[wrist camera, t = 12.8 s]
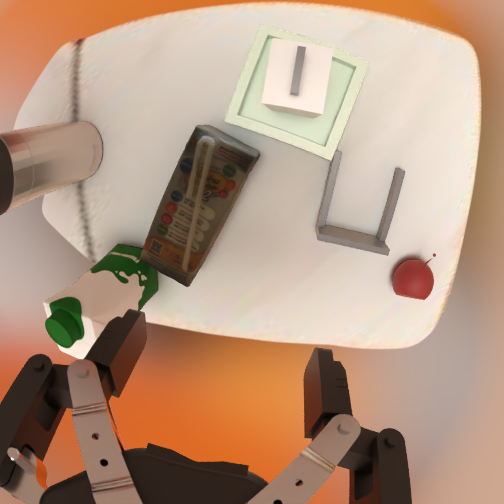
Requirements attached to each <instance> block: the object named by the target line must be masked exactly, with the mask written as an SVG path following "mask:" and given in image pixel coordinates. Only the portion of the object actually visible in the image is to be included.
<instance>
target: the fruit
mask: <svg viewBox="0 0 504 504" xmlns="http://www.w3.org/2000/svg"><path fill="white" fill-rule="evenodd" d="M433 256H434V257H435V256H436V254H433ZM430 260H431V259H430ZM430 260H429V261H430ZM429 261H427V262H426V263H424V262H422V261H420V260H416V259H412V260H407V261H405V262H403V263H402V264H400V265H399V266H398V268H397V269H396V271H395V273H394V276H393V289H394V291H395V293H396V294H397V295H400V296H405V297H409V298H415V299H421V300H425V299H426V298H427V297H428V296H429V295H430V293H431V291H432V289H433V284H434V277H433V273H432V271H431V269H430V268H429V266H428V265H427V263H428V262H429Z"/></svg>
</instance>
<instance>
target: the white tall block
mask: <svg viewBox="0 0 504 504" xmlns="http://www.w3.org/2000/svg"><path fill="white" fill-rule="evenodd" d="M332 55H333V49H332V48H328V47H324V46H319V45H314V44H309V43H303V42H297V41H291V40H285V39H278V38H272V44H271V50H270V56H269V61H268V67H267V73H266V79H265V85H264V91H263V97H262V104H263V105H265V106H266V107H267V108H269V109H270V110H271V111H277V112H283V113H289V114H294V115H299V116H304V117H309V118H316V117H318V116H320V115H322V114H323V109H324V104H325V98H326V92H327V86H328V80H329V74H330V68H331V62H332Z"/></svg>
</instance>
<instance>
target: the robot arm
mask: <svg viewBox="0 0 504 504" xmlns="http://www.w3.org/2000/svg"><path fill="white" fill-rule="evenodd" d="M102 152H103V148H102V141H101V137H100V135H99V132H98V131H97V129H96V128H95V127H94V126H93V125H92V124H90V123H88V122H85V121H80V122H69V123H59V124H51V125H44V126H37V127H31V128H25V129H19V130H14V131H10V132H5V133H0V215H2V214H3V213H5V212H7V211H9V210H11V209H13V208H16V207H18V206H20V205H22V204H24V203H26V202H29V201H31V200H33V199H35V198H37V197H40V196H42V195H45V194H47V193H50V192H52V191H55V190H57V189H60V188H62V187H65V186H68V185H70V184H73V183H76V182H78V181H81V180H84V179H87V178H88V177H90V176H92V175H93V174H94V173H95V172H96V170H97V169H98V167H99V165H100V163H101V159H102ZM146 340H147V331H146V320H145V313H144V312H141V311H137V310H133V309H128V310H127V312H126V313H125V314H124V316H123V317H119V316H117V317H115V318H114V319H112V320H111V321H109V322H108V324H107V325H106V327H105V328H104V331H102V332H101V334H100V336H99V337H98V338H97V340H96V341H95V343H94V344H93V346H92V347H91V349H90V350H89V352H88V353H87V355H86V356H85V358H84V359H79V360H76V361H74V362H73V363H71V364H70V365H59V364H52V361H51V359H50V358H49V357H47V356H46V355H43V354H37V355H34V356H32V357H31V358H29V359H28V361H27V362H26V364H25V365H24V367H23V368H22V370H21V371H20V373H19V374H18V376H17V377H16V379H15V381H14V382H13V384H12V386H11V387H10V389H9V391H8V392H7V394H6V395H5V397H4V399H3V400H2V402H1V404H0V490H2V491H4V492H5V493H7V494H10V495H12V496H13V497H15V498H17V499H20V500H21V501H23V502H25V503H26V504H306V503H307V502H308V501H309V500H310V499H311V497H312V496H313V495H314V494H315V493H316V492H317V491H318V490H319V488H320V487H321V486H322V485H323V484H324V483H325V482H326V480H327V479H328V478H329V477H330V475H331V474H332V473H333V472H334V468H335V467H336V466H340V467H343V468H347V469H349V470H350V490H349V491H350V493H349V495H350V496H349V504H412V498H411V488H410V478H409V469H408V461H407V454H406V447H405V440H404V438H403V436H402V434H401V433H400V432H399V431H397V430H395V429H392V428H388V429H384V430H382V431H381V432H380V433H378V432H375V431H371V430H368V429H365V428H363V427H361V426H360V424H359V422H358V421H357V420H356V419H355V418H354V417H353V415H352V409H351V402H350V395H349V389H348V383H347V377H346V371H345V369H344V367H343V366H342V364H341V362H339V361H333V354H332V350H331V349H323V348H315V349H314V351H313V354H312V356H311V358H310V360H309V362H308V364H307V367H306V369H305V373H304V423H305V424H304V425H305V426H304V427H305V428H304V429H305V438H312V442H311V443H310V444H309V445H308V447H307V448H306V449H304V450H303V451H302V452H301V453H300V454H299V455H298V456H297V457H296V458H295V459H294V460H293V461H292V462H291V463H290V464H289V465H288V466H287V467H286V468H285V469H284V470H283V471H282V472H281V473H280V474H279V475H278V476H277V477H276V478H275V479H274V480H273V481H271V483H269V484H268V483H267V482H266V481H265V480H264V479H263V478H261V477H260V476H258V475H256V474H254V473H252V472H249V471H248V465H242V464H235V463H229V462H196V461H193V460H191V459H189V458H187V457H185V456H183V455H181V454H179V453H177V452H175V451H173V450H171V449H167V448H163V447H160V446H156V445H153V444H150V443H148V445H147V448H134V449H129V450H125V447H124V445H123V442H122V440H121V437H120V435H119V432H118V429H117V426H116V424H115V420H114V417H113V414H112V411H111V407H110V404H109V400H110V398H111V396H112V395H113V396H115V397H118V398H119V397H120V395H121V393H122V390H123V389H124V387H125V384H126V383H127V381H128V379H129V377H130V375H131V373H132V371H133V369H134V367H135V364H136V363H137V361H138V359H139V357H140V355H141V353H142V351H143V349H144V347H145V344H146ZM66 408H72V409H74V410H73V411H72V418H73V423H74V427H75V432H76V435H77V439H78V444H79V447H80V451H81V454H82V458H83V461H84V465H85V468H86V470H85V471H83V472H81V473H79V474H77V475H74V476H72V477H70V478H68V479H66V480H63V481H61V482H59V483H57V484H55V485H52V486H50V487H49V488H48V487H47V484H46V478H47V469H46V466H45V465H44V463H43V459H44V457H45V455H46V452H47V450H48V447H49V445H50V443H51V441H52V439H53V436H54V434H55V432H56V430H57V427H58V425H59V423H60V421H61V419H62V417H63V415H64V412H65V410H66Z"/></svg>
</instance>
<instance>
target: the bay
mask: <svg viewBox="0 0 504 504" xmlns="http://www.w3.org/2000/svg"><path fill="white" fill-rule="evenodd" d="M341 154H342V152H339V151H335V153H334V155H333V158H332V160H331V165H330V169H329V174H328V178H327V183H326V187H325V191H324V196H323V200H322V204H321V208H320V212H319V217H318V221H317V225H316V234H317V239H318V240H320V241H325V242H329V243H334V244H338V245H343V246H348V247H352V248H357V249H361V250H365V251H370V252H374V253H379V254H383V255H387V256H388V254H389V251H390V249H389V248H388V246H387V245H386V243H385V239H386V236H387V233H388V230H389V227H390V224H391V221H392V217H393V214H394V211H395V207H396V204H397V201H398V197H399V193H400V190H401V186H402V182H403V179H404V175H405V171H404V170H402V169H399V168H396V169H395V173H394V177H393V181H392V185H391V189H390V192H389V196H388V200H387V203H386V207H385V210H384V214H383V217H382V220H381V224H380V227H379V230H378V233H377V236H372V235H368V234H364V233H360V232H355V231H351V230H347V229H342V228H338V227H334V226H329V225H325V222H326V218H327V214H328V210H329V206H330V202H331V198H332V194H333V190H334V185H335V181H336V177H337V172H338V168H339V164H340V159H341Z"/></svg>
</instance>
